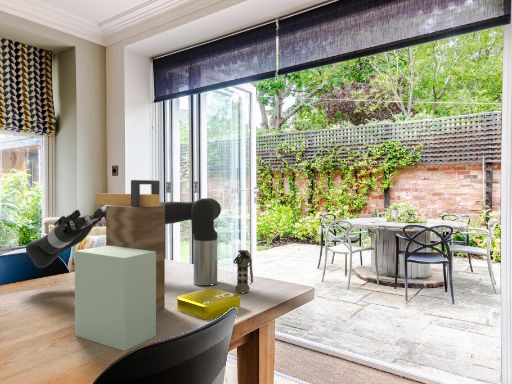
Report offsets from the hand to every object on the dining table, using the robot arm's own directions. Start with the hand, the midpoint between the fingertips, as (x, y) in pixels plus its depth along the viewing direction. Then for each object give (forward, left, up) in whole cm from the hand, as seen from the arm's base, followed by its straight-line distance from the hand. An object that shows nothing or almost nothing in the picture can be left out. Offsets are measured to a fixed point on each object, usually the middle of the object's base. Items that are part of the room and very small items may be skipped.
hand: (90, 211), depth 122 cm
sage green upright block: (-16, +31, -29) cm, 46 cm away
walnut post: (-17, +12, -29) cm, 36 cm away
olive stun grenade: (-51, -4, -30) cm, 59 cm away
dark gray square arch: (-21, +14, +3) cm, 25 cm away
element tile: (-39, +12, -30) cm, 51 cm away
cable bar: (-14, +10, +3) cm, 17 cm away
